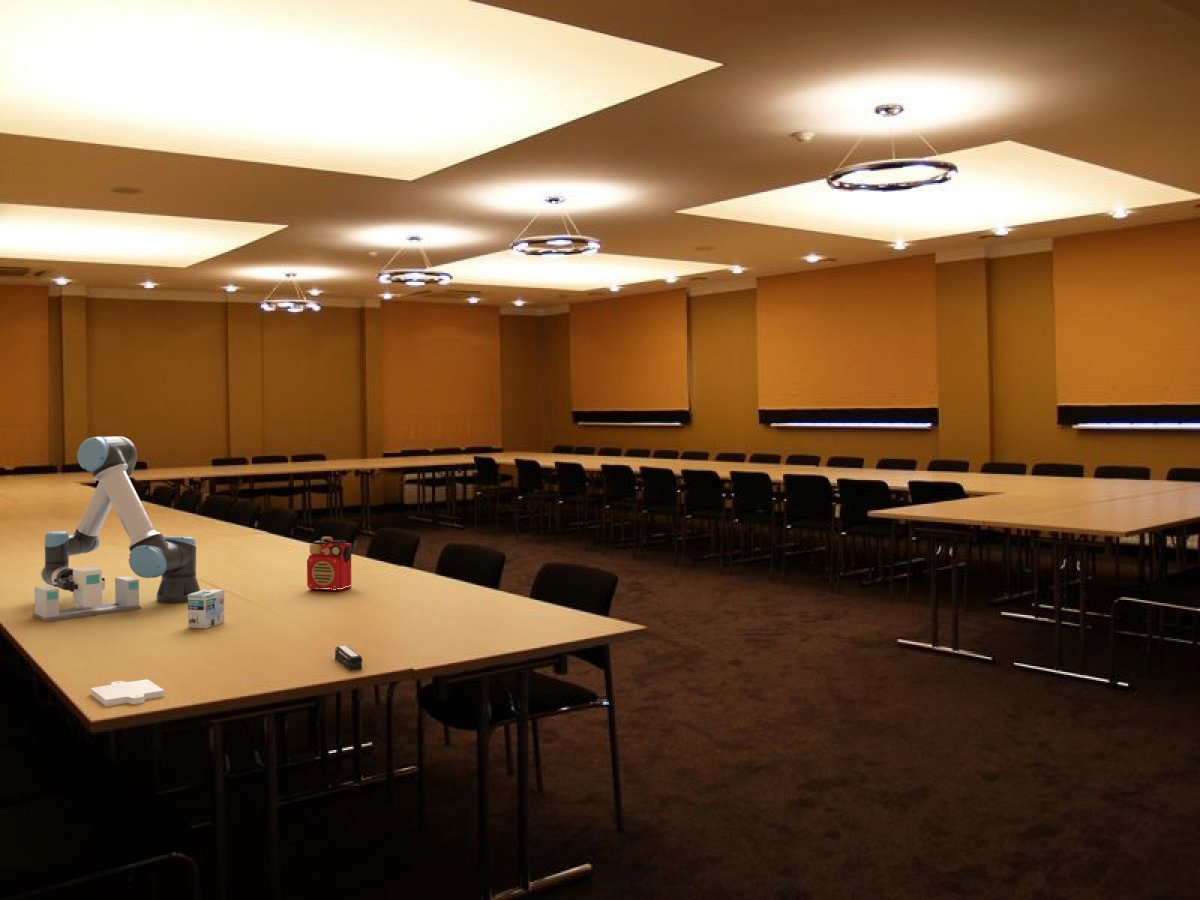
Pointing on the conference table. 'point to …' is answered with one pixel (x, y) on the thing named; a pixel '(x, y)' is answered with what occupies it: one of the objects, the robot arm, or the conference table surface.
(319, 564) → the radio
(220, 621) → the light bulb box
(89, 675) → the conference table surface
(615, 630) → the conference table surface
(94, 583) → the block
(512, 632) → the conference table surface
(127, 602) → the block
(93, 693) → the mounting plate
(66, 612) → the rail board
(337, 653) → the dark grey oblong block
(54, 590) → the block
